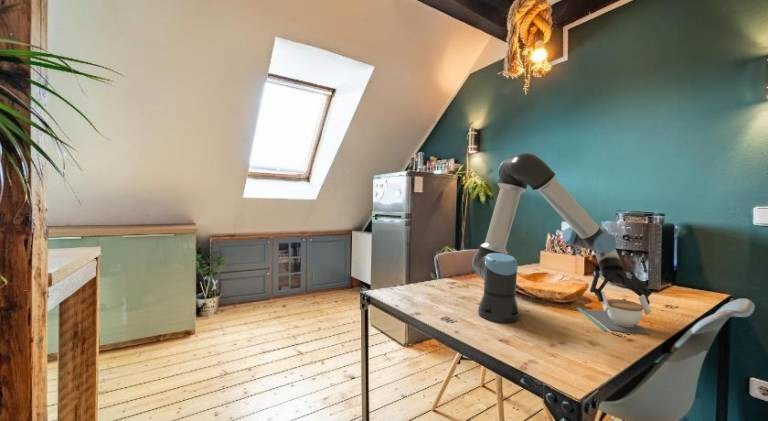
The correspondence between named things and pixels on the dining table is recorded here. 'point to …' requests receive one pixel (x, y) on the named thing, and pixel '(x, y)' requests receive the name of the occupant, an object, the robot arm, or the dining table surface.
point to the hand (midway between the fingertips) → (627, 311)
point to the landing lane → (610, 322)
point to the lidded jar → (624, 312)
